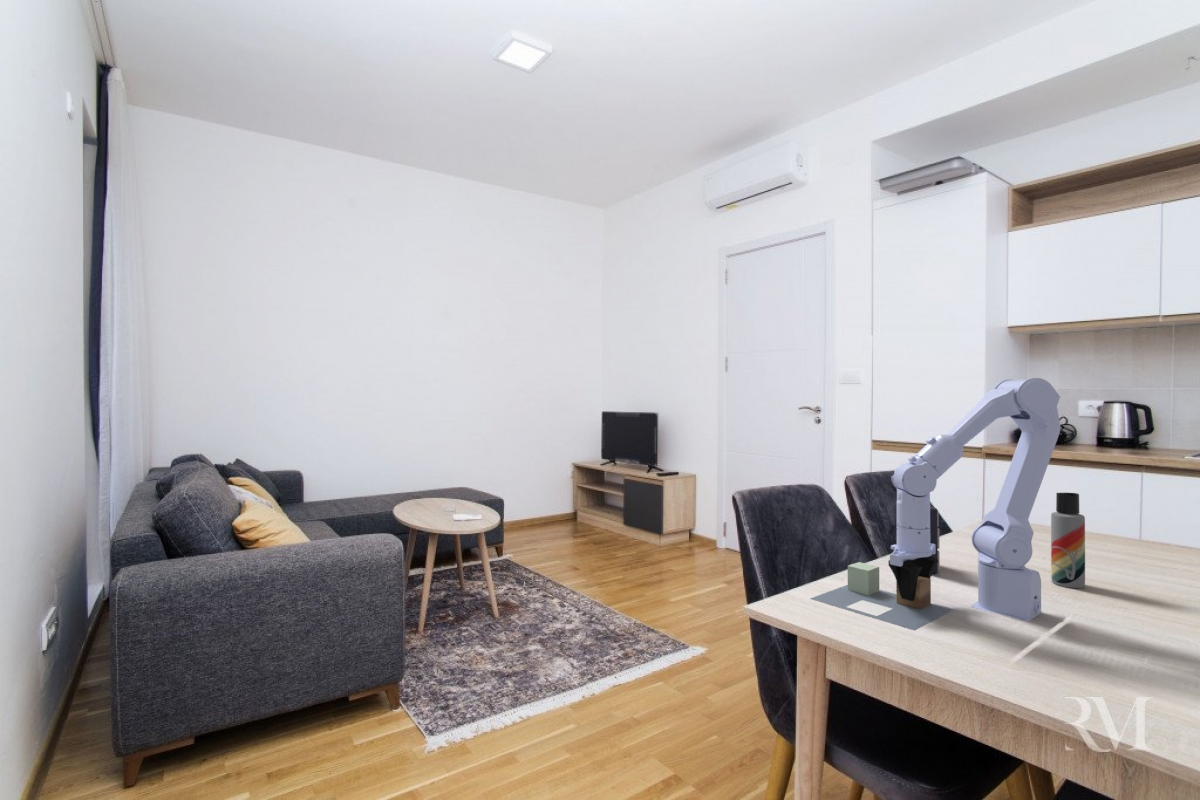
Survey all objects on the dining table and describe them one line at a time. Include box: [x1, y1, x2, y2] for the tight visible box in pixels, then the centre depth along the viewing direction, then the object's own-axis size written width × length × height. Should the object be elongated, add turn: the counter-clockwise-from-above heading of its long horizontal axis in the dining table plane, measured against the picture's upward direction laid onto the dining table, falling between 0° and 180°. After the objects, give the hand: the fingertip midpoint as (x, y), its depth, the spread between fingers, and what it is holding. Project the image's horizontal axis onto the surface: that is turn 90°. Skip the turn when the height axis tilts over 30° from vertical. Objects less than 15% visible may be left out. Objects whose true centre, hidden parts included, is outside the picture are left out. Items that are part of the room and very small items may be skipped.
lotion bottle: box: [1050, 492, 1086, 589], centre depth 125 cm, size 6×6×20 cm
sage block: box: [847, 561, 880, 595], centre depth 120 cm, size 4×4×5 cm
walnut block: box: [895, 576, 932, 610], centre depth 112 cm, size 4×4×5 cm
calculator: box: [929, 505, 941, 575], centre depth 138 cm, size 11×4×15 cm, turn 168°
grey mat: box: [809, 584, 955, 631], centre depth 112 cm, size 20×16×1 cm
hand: (913, 596), depth 112 cm, fingers closed on walnut block, 4 cm apart
